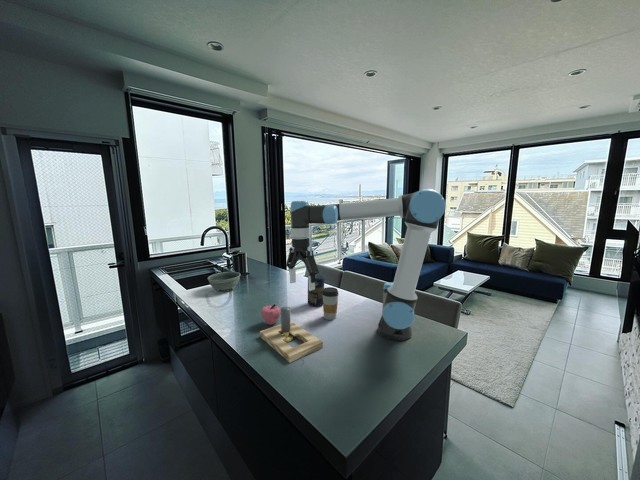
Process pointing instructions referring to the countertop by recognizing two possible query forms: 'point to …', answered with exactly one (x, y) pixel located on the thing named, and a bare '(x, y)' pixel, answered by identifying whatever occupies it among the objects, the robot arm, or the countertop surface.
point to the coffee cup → (330, 302)
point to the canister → (316, 292)
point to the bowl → (224, 280)
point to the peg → (286, 323)
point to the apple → (270, 314)
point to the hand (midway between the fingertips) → (302, 286)
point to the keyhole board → (290, 354)
